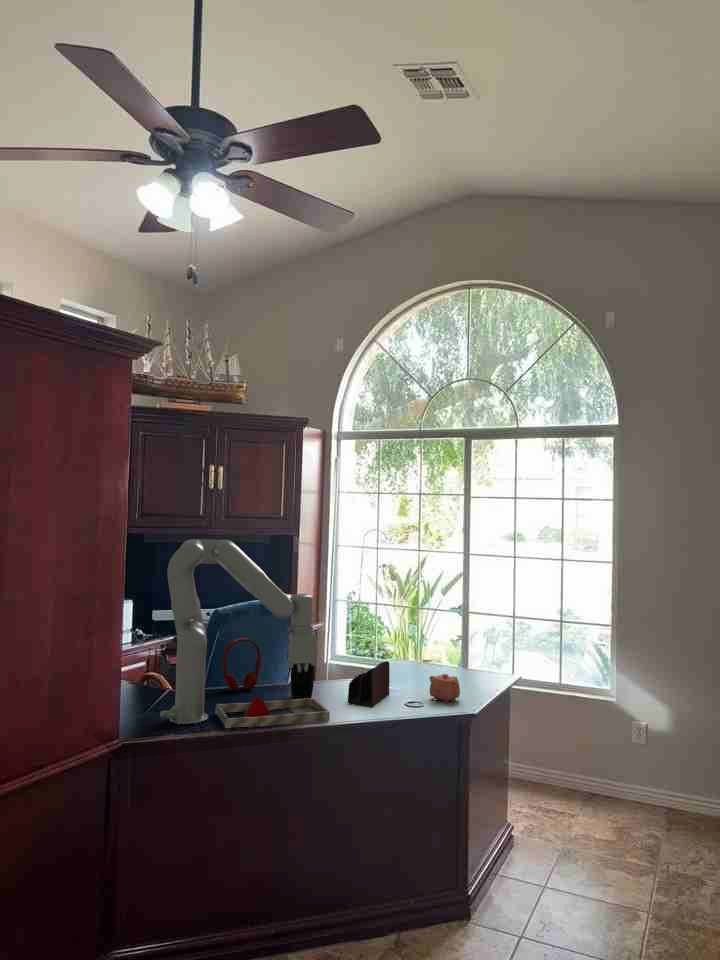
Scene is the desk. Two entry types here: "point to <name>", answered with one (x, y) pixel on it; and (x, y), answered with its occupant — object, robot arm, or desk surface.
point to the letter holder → (370, 686)
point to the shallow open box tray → (299, 707)
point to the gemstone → (257, 708)
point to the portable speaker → (305, 688)
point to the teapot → (444, 687)
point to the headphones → (251, 676)
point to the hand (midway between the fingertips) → (301, 682)
